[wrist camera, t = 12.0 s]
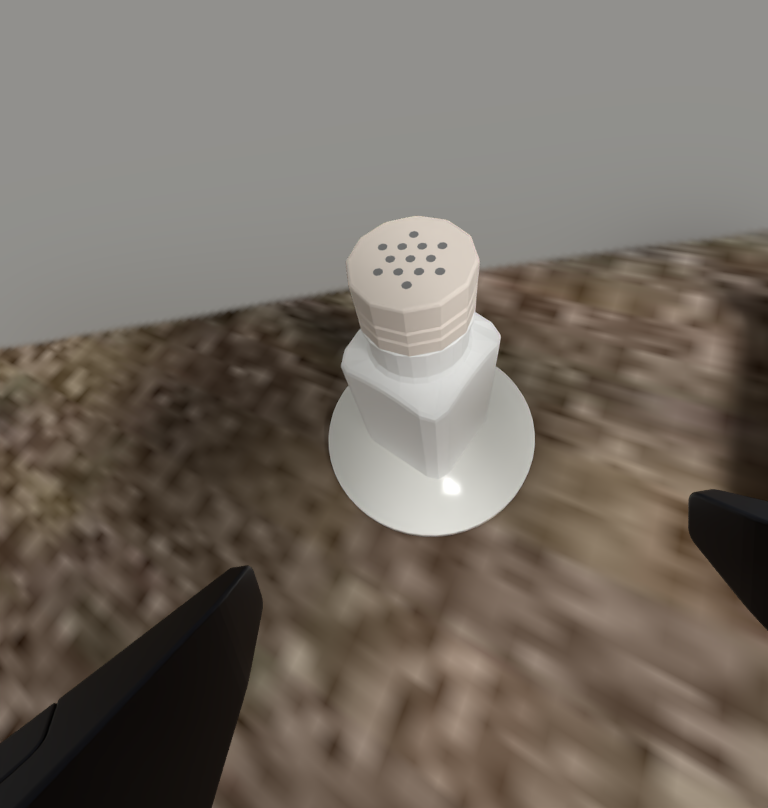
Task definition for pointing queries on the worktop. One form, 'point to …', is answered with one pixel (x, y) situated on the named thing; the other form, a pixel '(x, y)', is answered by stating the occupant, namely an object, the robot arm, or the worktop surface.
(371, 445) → the coaster
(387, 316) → the pepper shaker
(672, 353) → the worktop surface
